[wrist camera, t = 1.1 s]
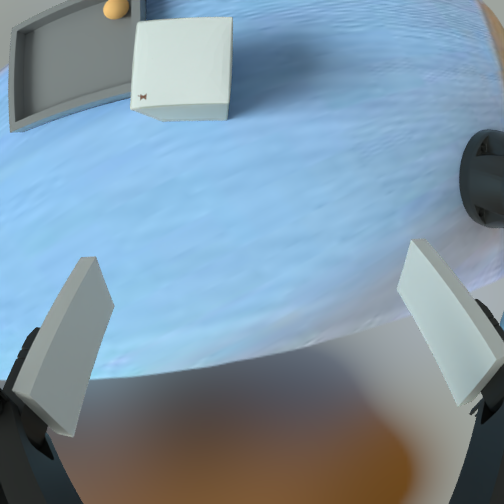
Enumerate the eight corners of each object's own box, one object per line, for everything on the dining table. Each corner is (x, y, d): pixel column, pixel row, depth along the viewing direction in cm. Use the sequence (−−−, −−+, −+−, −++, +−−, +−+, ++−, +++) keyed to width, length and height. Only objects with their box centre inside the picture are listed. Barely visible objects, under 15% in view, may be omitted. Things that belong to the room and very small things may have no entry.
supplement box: (228, 121, 31) (230, 107, 19) (160, 122, 31) (125, 111, 19) (231, 59, 29) (235, 15, 17) (164, 60, 28) (134, 20, 16)
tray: (145, -13, 24) (140, -24, 21) (150, 93, 29) (144, 88, 26) (23, 33, 23) (12, 28, 20) (23, 132, 28) (10, 132, 26)
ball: (132, -1, 24) (125, -11, 21) (132, 19, 25) (124, 9, 22) (108, 6, 24) (100, -3, 21) (108, 25, 25) (99, 17, 22)
